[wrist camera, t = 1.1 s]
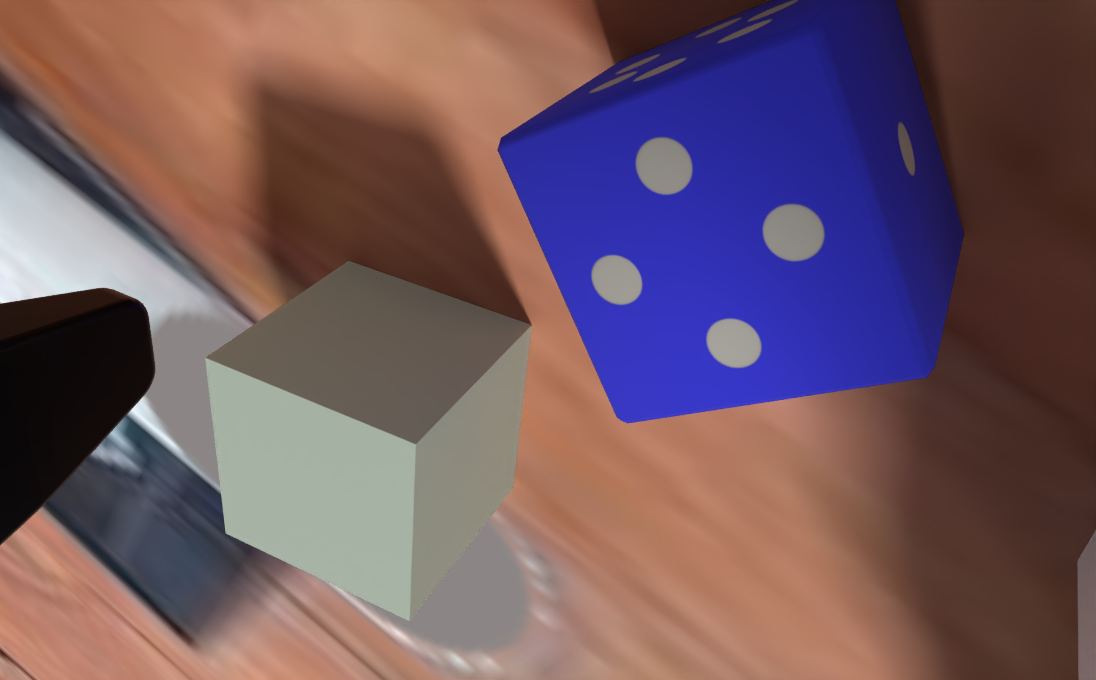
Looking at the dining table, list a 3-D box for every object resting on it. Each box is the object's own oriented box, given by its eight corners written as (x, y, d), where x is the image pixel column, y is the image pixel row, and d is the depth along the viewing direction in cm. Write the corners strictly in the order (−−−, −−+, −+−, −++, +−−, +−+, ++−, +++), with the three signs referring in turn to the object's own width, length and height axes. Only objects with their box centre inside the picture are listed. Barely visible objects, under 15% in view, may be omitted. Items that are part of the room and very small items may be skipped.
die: (967, 238, 16) (936, 382, 13) (707, 296, 19) (616, 429, 15) (883, -46, 15) (820, 17, 11) (615, 62, 18) (488, 143, 14)
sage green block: (514, 486, 24) (409, 621, 20) (352, 419, 26) (225, 533, 22) (533, 323, 21) (415, 444, 18) (350, 259, 23) (205, 357, 19)
